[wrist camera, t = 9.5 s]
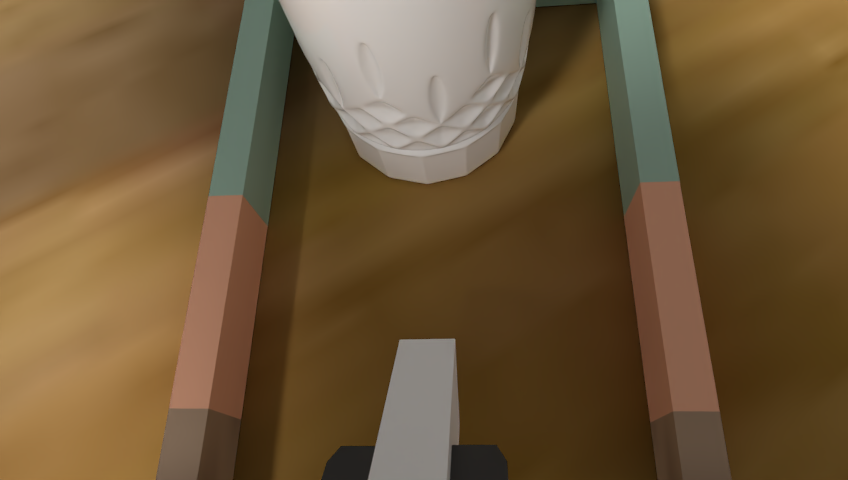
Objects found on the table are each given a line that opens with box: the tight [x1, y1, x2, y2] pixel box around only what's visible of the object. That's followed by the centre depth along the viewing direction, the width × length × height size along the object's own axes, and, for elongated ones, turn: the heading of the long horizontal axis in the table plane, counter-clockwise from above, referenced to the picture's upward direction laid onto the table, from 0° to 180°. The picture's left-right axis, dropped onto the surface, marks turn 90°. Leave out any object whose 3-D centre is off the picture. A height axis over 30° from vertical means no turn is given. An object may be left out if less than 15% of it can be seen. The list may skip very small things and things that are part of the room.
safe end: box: [209, 0, 680, 226], centre depth 22 cm, size 11×15×4 cm
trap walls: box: [169, 181, 720, 423], centre depth 19 cm, size 7×15×2 cm, turn 89°
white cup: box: [279, 0, 536, 184], centre depth 19 cm, size 8×8×10 cm
